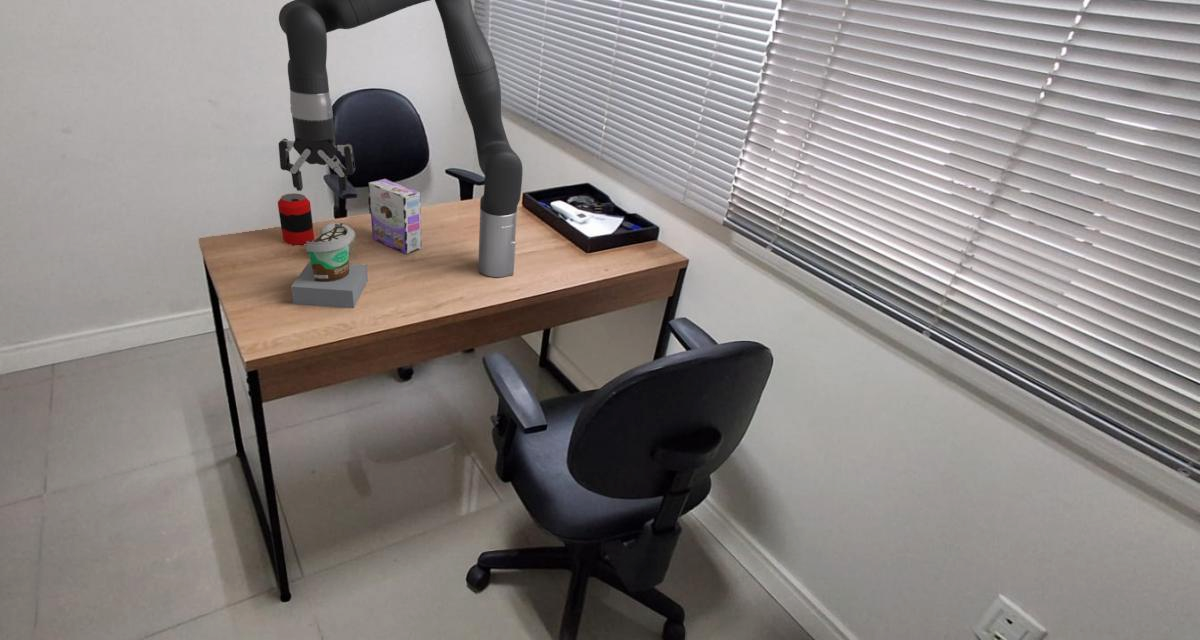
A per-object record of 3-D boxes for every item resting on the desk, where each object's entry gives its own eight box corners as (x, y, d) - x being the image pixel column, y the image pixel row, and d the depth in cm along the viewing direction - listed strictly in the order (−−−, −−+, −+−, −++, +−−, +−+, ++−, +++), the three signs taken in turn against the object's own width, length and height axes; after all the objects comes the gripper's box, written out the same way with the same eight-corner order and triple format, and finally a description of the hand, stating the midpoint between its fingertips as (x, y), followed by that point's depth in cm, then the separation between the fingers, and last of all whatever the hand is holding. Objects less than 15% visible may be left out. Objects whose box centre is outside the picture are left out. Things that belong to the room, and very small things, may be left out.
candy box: (422, 248, 169) (421, 191, 161) (406, 255, 165) (403, 196, 156) (388, 233, 175) (385, 177, 166) (371, 238, 170) (367, 181, 162)
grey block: (367, 283, 150) (366, 264, 148) (354, 310, 139) (352, 290, 137) (312, 279, 149) (309, 260, 146) (293, 306, 138) (290, 286, 135)
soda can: (287, 247, 160) (280, 204, 153) (280, 236, 164) (273, 193, 158) (317, 243, 164) (312, 201, 158) (310, 232, 169) (305, 190, 163)
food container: (336, 288, 136) (331, 246, 131) (311, 283, 137) (304, 242, 132) (364, 265, 147) (360, 226, 142) (341, 261, 148) (336, 222, 143)
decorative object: (320, 250, 160) (316, 215, 155) (355, 248, 164) (353, 213, 159) (321, 266, 154) (317, 229, 149) (359, 263, 157) (356, 227, 152)
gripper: (353, 112, 128) (359, 187, 136) (279, 106, 125) (290, 182, 133) (346, 121, 121) (352, 199, 130) (268, 115, 119) (280, 195, 127)
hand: (321, 190), depth 131 cm, fingers open, 8 cm apart
